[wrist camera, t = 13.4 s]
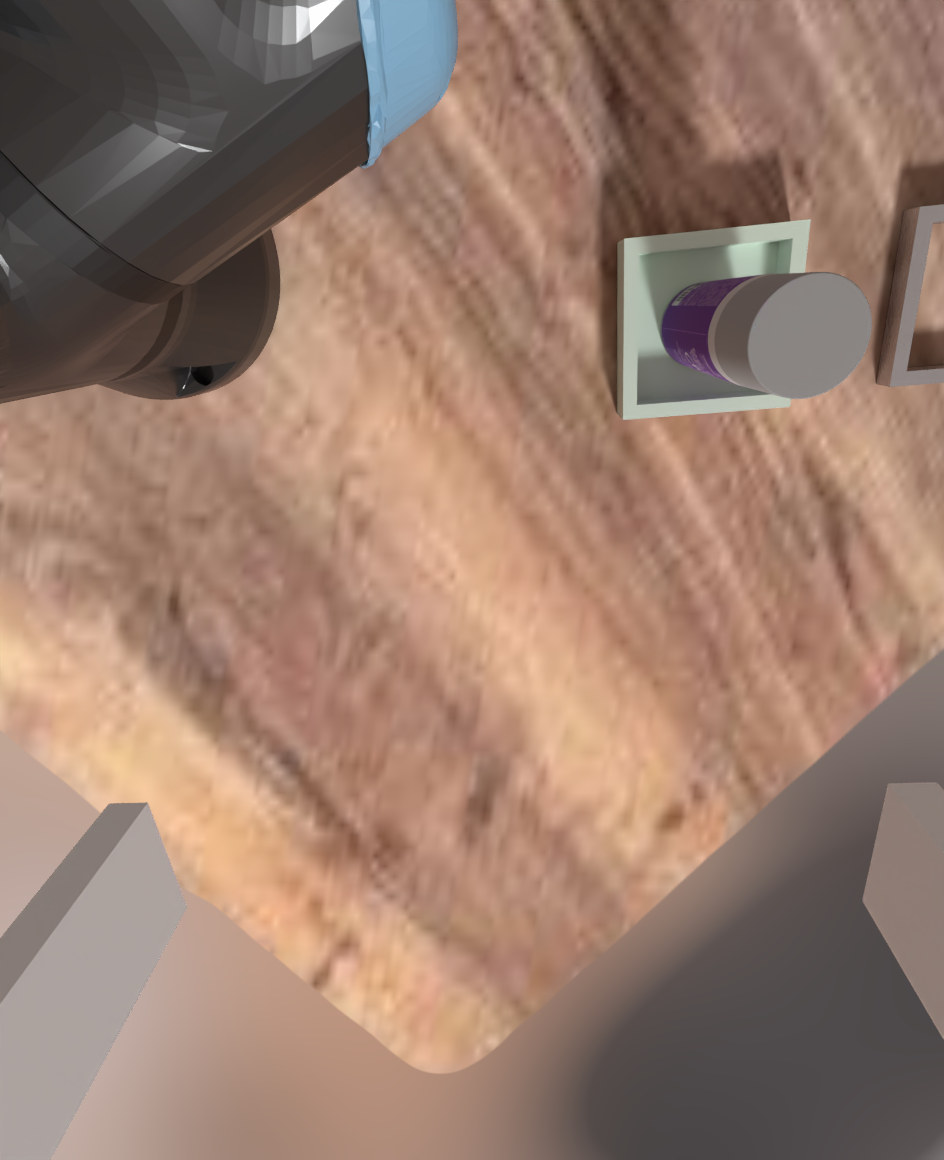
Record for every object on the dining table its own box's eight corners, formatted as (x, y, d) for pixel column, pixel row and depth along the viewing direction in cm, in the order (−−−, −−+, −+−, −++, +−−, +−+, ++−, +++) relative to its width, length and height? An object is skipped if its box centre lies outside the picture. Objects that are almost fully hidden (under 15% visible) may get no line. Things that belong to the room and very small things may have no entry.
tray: (616, 413, 40) (623, 419, 38) (617, 242, 36) (624, 238, 34) (773, 400, 39) (790, 406, 37) (791, 224, 35) (810, 219, 33)
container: (649, 359, 38) (726, 390, 24) (672, 274, 36) (769, 256, 22) (725, 373, 38) (845, 412, 24) (752, 289, 36) (897, 280, 23)
